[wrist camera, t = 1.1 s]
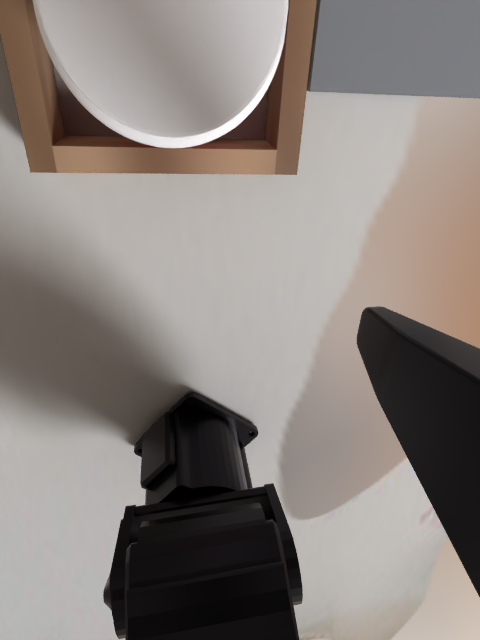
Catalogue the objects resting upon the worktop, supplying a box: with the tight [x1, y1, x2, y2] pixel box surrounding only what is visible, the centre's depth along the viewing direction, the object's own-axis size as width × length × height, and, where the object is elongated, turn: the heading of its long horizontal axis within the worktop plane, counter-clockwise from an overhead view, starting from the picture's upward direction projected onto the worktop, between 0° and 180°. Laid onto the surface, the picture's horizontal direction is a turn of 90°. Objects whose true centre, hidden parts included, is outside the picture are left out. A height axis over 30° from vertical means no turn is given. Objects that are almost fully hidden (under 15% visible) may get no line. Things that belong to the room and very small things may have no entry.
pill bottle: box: [33, 0, 288, 148], centre depth 12 cm, size 6×6×11 cm
